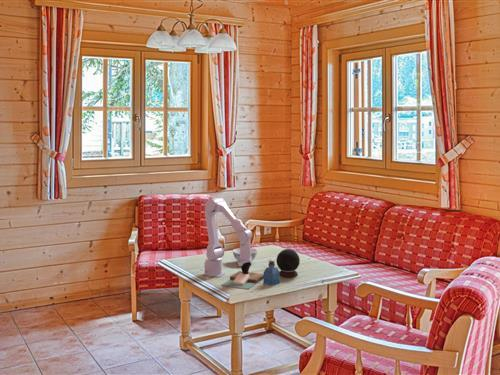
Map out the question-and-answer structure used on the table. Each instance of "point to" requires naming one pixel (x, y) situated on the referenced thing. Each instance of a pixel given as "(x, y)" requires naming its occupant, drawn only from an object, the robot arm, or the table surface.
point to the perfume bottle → (271, 274)
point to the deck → (253, 277)
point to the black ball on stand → (288, 263)
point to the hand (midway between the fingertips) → (245, 275)
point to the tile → (241, 279)
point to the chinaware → (237, 253)
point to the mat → (245, 286)
